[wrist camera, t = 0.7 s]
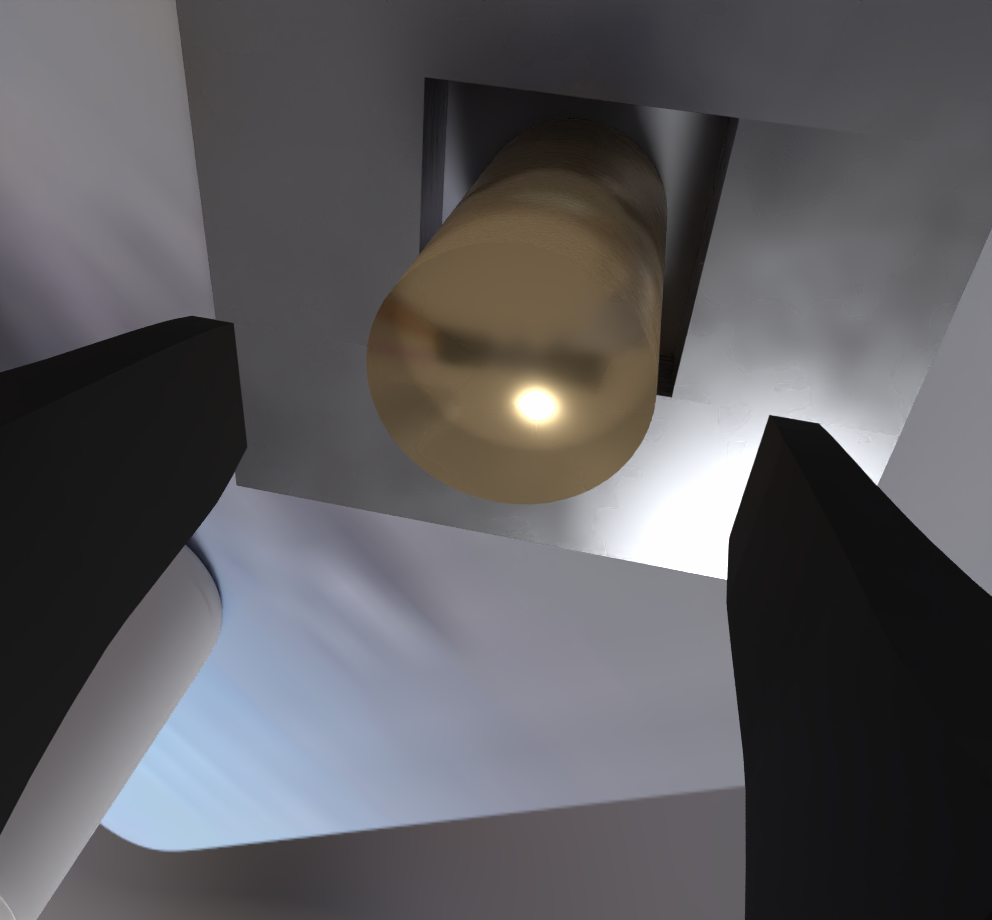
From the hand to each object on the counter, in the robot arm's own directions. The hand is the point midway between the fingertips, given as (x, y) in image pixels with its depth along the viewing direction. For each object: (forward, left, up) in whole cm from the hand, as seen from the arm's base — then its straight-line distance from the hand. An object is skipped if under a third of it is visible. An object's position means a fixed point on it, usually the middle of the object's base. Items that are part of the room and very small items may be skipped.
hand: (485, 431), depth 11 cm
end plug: (0, 0, -9) cm, 9 cm away
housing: (0, 0, -9) cm, 9 cm away
